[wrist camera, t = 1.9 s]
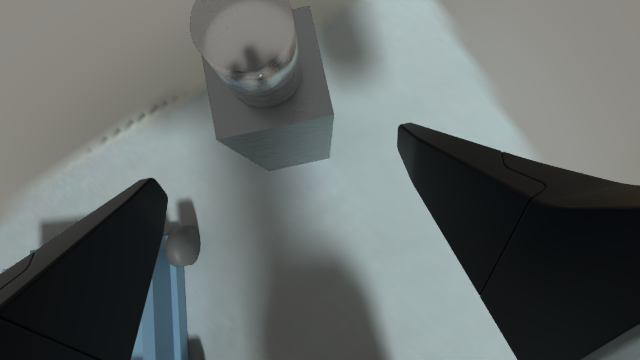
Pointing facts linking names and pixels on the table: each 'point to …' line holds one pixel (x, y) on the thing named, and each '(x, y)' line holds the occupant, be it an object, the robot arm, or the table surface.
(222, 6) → the square bottle with cap
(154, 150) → the table surface
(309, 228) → the table surface
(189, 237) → the chassis
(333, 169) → the table surface
